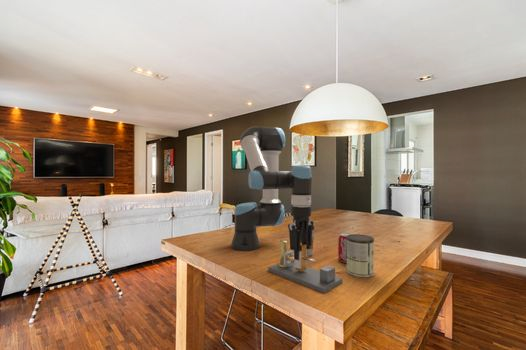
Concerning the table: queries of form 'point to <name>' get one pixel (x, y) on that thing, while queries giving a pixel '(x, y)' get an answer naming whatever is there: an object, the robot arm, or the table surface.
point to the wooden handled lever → (303, 258)
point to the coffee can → (360, 255)
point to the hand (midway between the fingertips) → (300, 266)
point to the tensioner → (327, 274)
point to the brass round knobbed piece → (283, 250)
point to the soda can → (342, 247)
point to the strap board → (305, 277)
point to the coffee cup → (311, 243)
